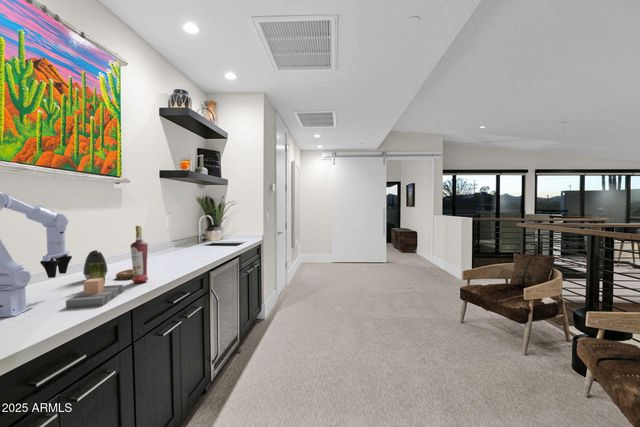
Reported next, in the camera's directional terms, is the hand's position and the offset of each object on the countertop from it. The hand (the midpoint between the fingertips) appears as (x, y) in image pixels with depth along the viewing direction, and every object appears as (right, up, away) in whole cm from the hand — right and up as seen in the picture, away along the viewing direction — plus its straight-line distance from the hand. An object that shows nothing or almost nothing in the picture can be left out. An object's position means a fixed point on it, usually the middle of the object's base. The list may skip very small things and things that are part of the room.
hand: (57, 275), depth 126 cm
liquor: (+20, -9, +25) cm, 33 cm away
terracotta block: (+17, -6, -3) cm, 18 cm away
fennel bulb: (+6, -9, +14) cm, 18 cm away
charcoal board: (+18, -9, -2) cm, 21 cm away
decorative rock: (+7, -9, +37) cm, 39 cm away
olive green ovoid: (-8, -9, +32) cm, 34 cm away
